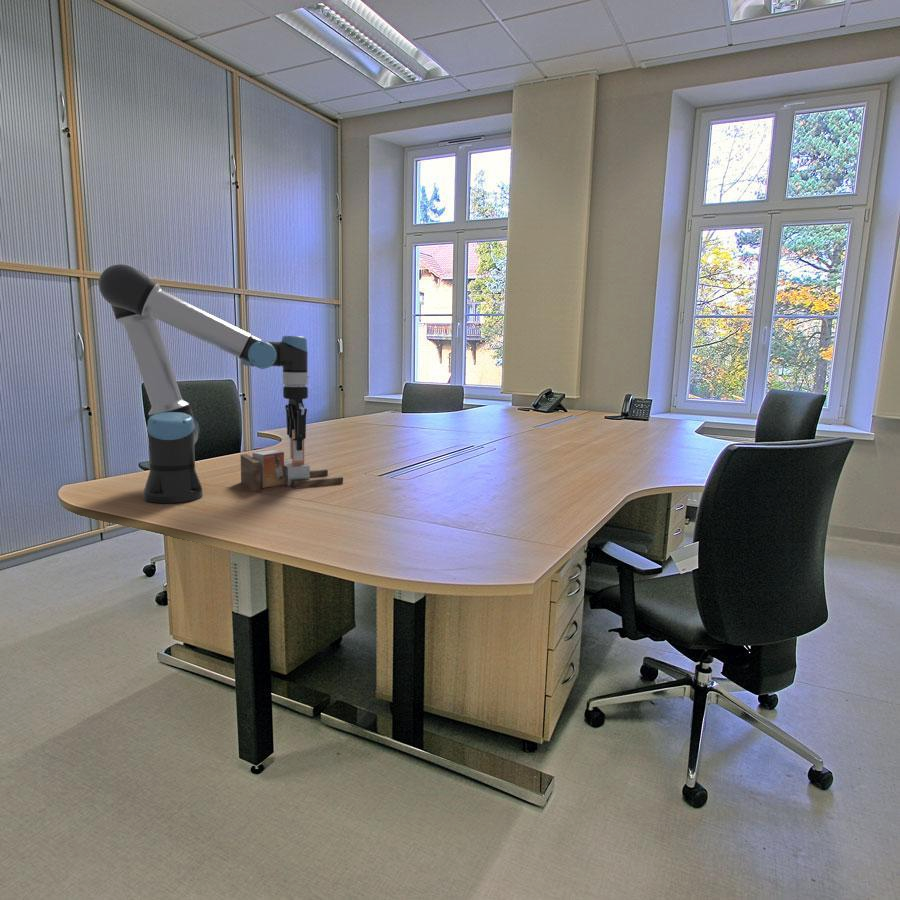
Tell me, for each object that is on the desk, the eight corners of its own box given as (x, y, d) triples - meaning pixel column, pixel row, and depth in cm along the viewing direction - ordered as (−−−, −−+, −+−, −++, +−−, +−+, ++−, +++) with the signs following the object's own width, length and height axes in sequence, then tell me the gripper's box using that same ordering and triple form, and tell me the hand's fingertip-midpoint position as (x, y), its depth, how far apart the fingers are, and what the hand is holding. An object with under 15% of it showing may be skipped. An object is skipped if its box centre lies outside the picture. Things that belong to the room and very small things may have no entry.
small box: (263, 488, 184) (262, 454, 182) (252, 485, 187) (251, 452, 186) (284, 484, 190) (284, 451, 189) (273, 481, 194) (273, 449, 192)
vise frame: (254, 492, 179) (253, 462, 178) (241, 482, 191) (240, 454, 190) (343, 483, 195) (343, 456, 193) (325, 474, 207) (326, 449, 205)
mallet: (288, 486, 187) (287, 432, 184) (278, 480, 195) (277, 428, 193) (309, 484, 191) (309, 431, 188) (298, 478, 199) (298, 427, 196)
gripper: (316, 387, 184) (317, 462, 188) (298, 383, 197) (299, 454, 201) (292, 387, 180) (293, 464, 184) (275, 384, 193) (277, 455, 197)
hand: (296, 459), depth 192 cm, fingers closed on mallet, 3 cm apart
